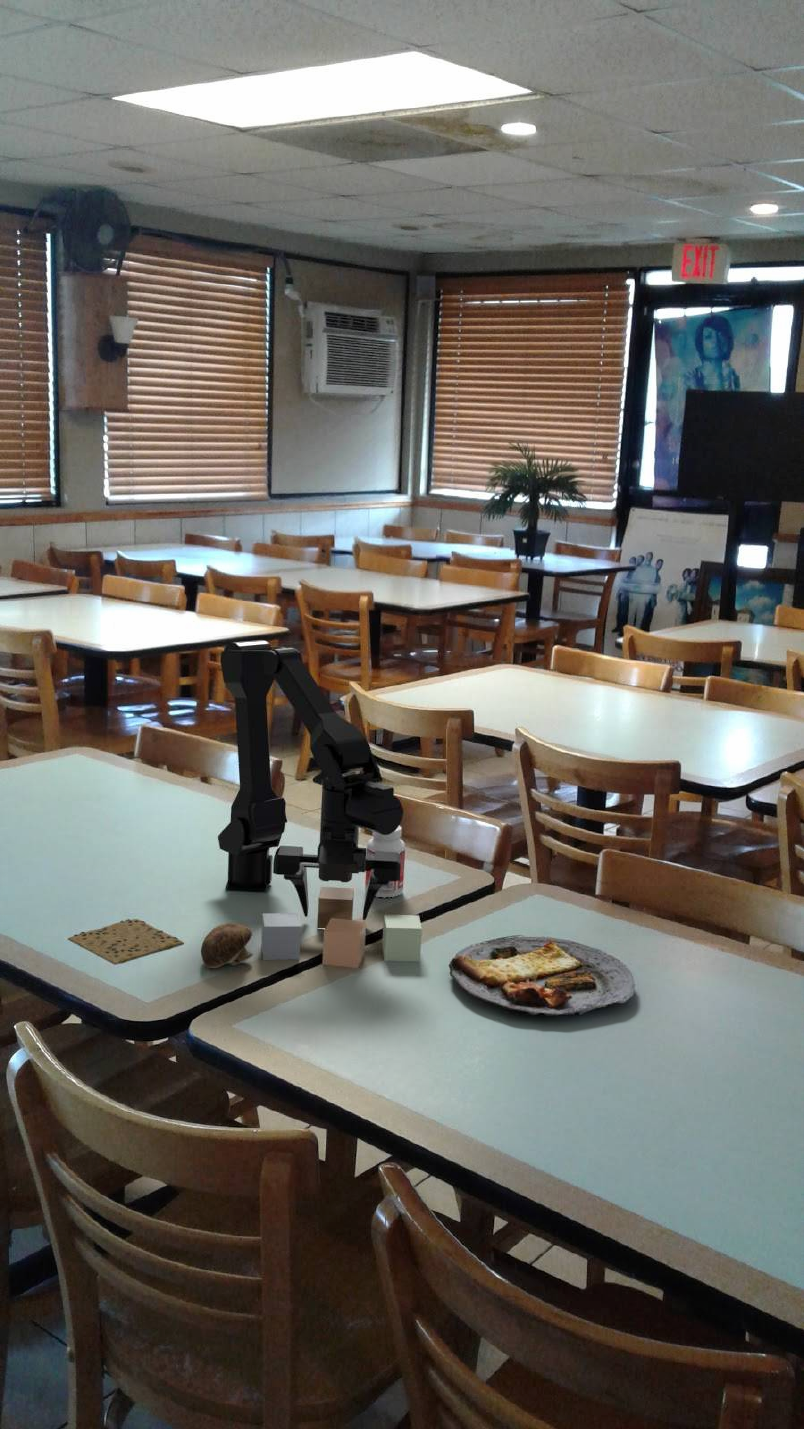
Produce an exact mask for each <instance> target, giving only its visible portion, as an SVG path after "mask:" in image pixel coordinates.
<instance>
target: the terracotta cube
mask: <svg viewBox="0 0 804 1429" xmlns="http://www.w3.org/2000/svg"><path fill="white" fill-rule="evenodd" d="M366 927H367V921H365V920H353V919H352V920H346V919H337V918H331V919H330V921H329V923H328V925H327V926H326V928H325V930H323V945H322V963H321V964H322V965H327V966H335V967H344V968H352V969H359V967H360V965H361V962H362V960H363V959H364V956H365V950H366V930H367V928H366Z"/></svg>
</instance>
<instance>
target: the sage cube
mask: <svg viewBox="0 0 804 1429" xmlns="http://www.w3.org/2000/svg"><path fill="white" fill-rule="evenodd" d="M420 919H421V918H420V915H413V914H410V915H408V914H402V915H401V914H384V915H383V928H382V945H381V947H382V948H381V949H382V953H383V954H382V955H383V959H384V962H388V961H389V962H419V963H420V962H421V951H422V950H421V948H422V933H423V928H422V923H421V920H420Z"/></svg>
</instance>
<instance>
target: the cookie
mask: <svg viewBox="0 0 804 1429" xmlns="http://www.w3.org/2000/svg"><path fill="white" fill-rule="evenodd" d="M67 940H68V941H70V942H72V943H74V944H75V945H77V946H79V947H81V948H82V949H84V950H85V949H86V950H87V951H89V952H91V953H93V954H94V955H95V956H97V957H100V958H101V959H104V960H105V961H107V962H108V963H111V964H113V965H119V964H124V963H126V962H129V961H132V960H135V959H136V960H137V959H139V958H142V957H146V956H149V955H152V954H155V953H160V952H163V951H166V950H169V949H172V948H176V947H179V946H183V945H184V944H185V942H183V941H182V940H181V939H179V938H177V937H176V936H174V935H173V936H172V935H170V934H169V933H166V932H164V930H160V929H158V928H155V927H154V926H152V925H150V924H148V923H146V921H145V920H144V921H143V920H140V919H138V918H133V919H130V918H128V919H126V920H120V921H119V922H116V923H114V924H110V925H107V926H103V927H101V928H97V929H93V930H88V931H81V932H79V933H78V934H76V933H75V934H74V935H73V936H70V937H68V938H67Z"/></svg>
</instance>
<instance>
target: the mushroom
mask: <svg viewBox="0 0 804 1429" xmlns="http://www.w3.org/2000/svg"><path fill="white" fill-rule="evenodd" d="M252 936H253V931H252V929H251V928H249V927H248V926H245V925H244V924H241V923H239V924H238V923H233V922H228V923H224V924H221V925H217V926H216V927H214V928H212V929H211V930H210V932H209V933H208V934H207V935H206V936H205V937H204V939H203V942H202V944H201V948H200V953H201V954H200V955H201V959H202V962H203V964H204V966H206V967H207V968H209V969H218V968H219V967H222V966H224V965H226V964H231V965H232V966H236V965H239V964H241V963H243V962H245V961H247V960H248V959H250V958H251V957H253V956H254V953H252V952H250V951H248V950H247V949H246V946H247V944H248V943H249V942H250V940H251V939H252Z"/></svg>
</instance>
